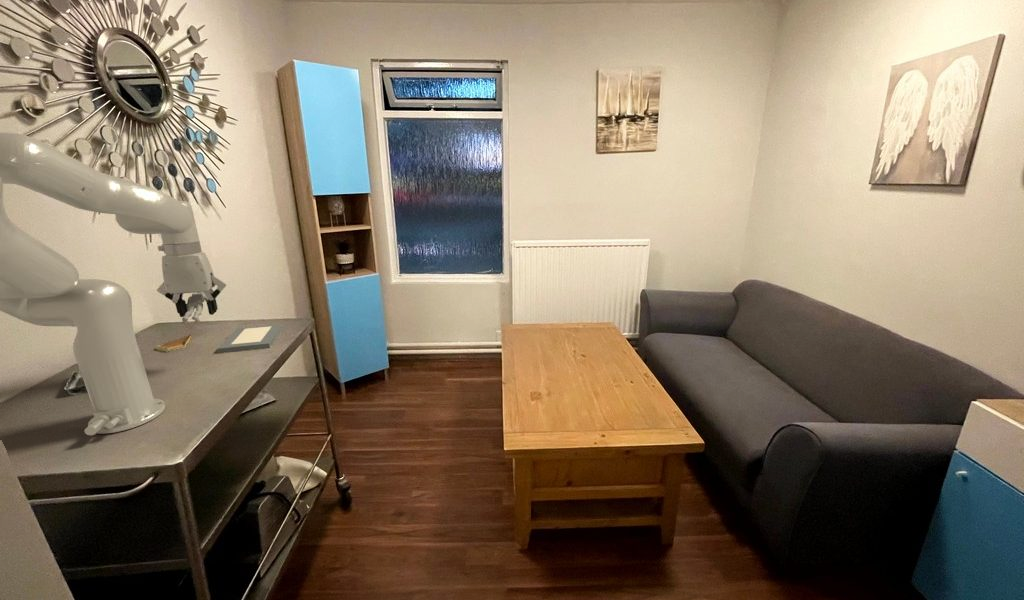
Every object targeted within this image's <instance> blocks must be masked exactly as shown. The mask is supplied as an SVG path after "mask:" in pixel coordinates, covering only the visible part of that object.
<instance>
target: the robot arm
mask: <svg viewBox="0 0 1024 600" xmlns="http://www.w3.org/2000/svg"><path fill="white" fill-rule="evenodd" d="M7 184H9V185H11V184H12V185H17V186H21V187H24V188H25V189H29V190H30V191H34V192H36V193H38V194H40V195H43V196H47V197H49V198H51V199H54V200H56V201H59V202H61V203H63V204H65V205H67V206H70V207H73V208H76V209H78V210H84V211H89V212H95V213H100V214H109V215H115V220H116V223H117V224H118V226H120V228H122V230H124V231H125V232H126V231H127V232H128V233H131V234H138V235H156V234H157V235H158V234H159V235H160V238H161V242H162V244H161V245H158V246H157V250H158V251H159V252H163V253H164V255H162V256H161V269H162V271H161V272H162V276H163V277H162V278H163V282H162V283H161V285H160V286H159V287H158V288H156V291H157V292H158V293H159V294H161V295H162V296H164V297H165V298H167V299H169V300H171V302H172V303H173V304H175V309H176V313H177V314H178V315H179V317H180V318H183V317H184V315H185V313H186V312H187V308H186V304H187V303H186V300H185V299H183V296H184V294H193V293H197V292H203V293H204V295H205V296H206V297H207V298H208V301H207V302H206V305H207V310H208V314H209V315H211V316H213V315H215V313H217V311H218V304H217V300H216V298H217V297H218V296H219V295H220V294H221V293H222V291H223V290H224V289H225V288H226V287H227V284H226V283H225V282H224V281H222V280H220V279H219V278H217V277H216V276H215V274H214V271H213V268H212V266H211V263H210V260H209V258H208V257H207V254H206V252H203V250H202V245H201V241H200V237H199V234H198V233H199V232H198V229H197V224H196V220H195V216H194V215H195V214H194V212H193V211H194V210H193V207H192V205H191V204H190V202H188V201H185V200H177V199H176V198H175V197H172V196H171V195H169V194H167V193H165V192H163V191H160V190H159V189H156V188H153V187H151V186H148V185H144V184H141V183H137V182H134V181H131V180H128V179H125V178H122V177H119V176H118V177H117V176H115V175H111V174H108V173H104V172H101V171H100V170H97V169H95V168H93V167H91V166H90V165H88V164H85V163H84V162H81V161H80V160H77V159H76V158H74V157H72V156H70V155H68V154H66V153H64V152H62V151H60V150H58V149H57V148H55V147H52V146H50V145H48V144H46V143H44V142H43V141H41V140H39V139H37V138H34V137H32V136H29V135H25V134H22V133H15V132H0V312H1V313H5V314H7V315H9V316H11V317H13V318H16V319H18V320H20V321H23V322H25V323H28V324H32V325H36V326H41V327H75V328H76V330H77V332H76V334H75V338H74V341H73V345H72V349H73V355H74V357H75V358H74V359H75V361H76V362H77V365H78V369H79V371H80V372H81V375H82V380H83V383H84V386H86V389H87V395H88V396H89V397H88V398H89V400H90V402H91V403H90V404H91V406H92V408H93V413H92V415H93V417H92V418H91V419H90V420H89V421H88V423H87V427H86V428H84V434H86V435H87V436H95V435H96V434H103V435H104V434H105V435H106V434H112V433H118V432H123V431H126V430H131V429H133V428H135V427H139V426H141V425H144V424H146V423H148V422H151V421H152V420H154V419H155V418H157V417H159V415H161V414H162V413H163V412H164V411H165V408H166V405H165V401H164V400H163V399H160V398H155V397H154V396H153V392H152V388H151V385H150V381H149V377H148V375H147V371H146V367H145V365H144V362H143V357H142V354H141V351H140V347H139V346H138V342H137V338H136V334H135V330H134V326H133V325H134V324H133V313H132V312H133V305H132V304H133V303H132V297H131V295H130V293H129V291H128V290H127V289H126V288H125V287H124V286H122V285H121V284H119V283H116V282H115V281H111V280H106V279H95V278H93V279H91V278H90V279H88V278H85V279H84V278H83V279H82V278H81V279H80V275H79V274H80V273H79V271H78V269H77V267H76V265H74V263H73V262H71V261H70V260H69V259H67V257H65V255H62V254H61V253H59V252H57V251H56V250H54V249H53V248H51V247H49V246H48V245H46V243H45V244H44V242H42V241H40V240H38V239H37V238H35V237H34V236H32V235H31V234H29V233H27V232H26V231H25V230H24V229H21V228H20V227H19V226H18V225H16V223H14V222H13V221H12V220H11V219H10V218H9V216H8V214H7V212H6V209H5V203H4V186H3V185H7ZM216 286H217V287H216ZM215 287H216V288H215ZM213 288H215V290H213Z"/></svg>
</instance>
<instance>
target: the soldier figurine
mask: <svg viewBox="0 0 1024 600" xmlns="http://www.w3.org/2000/svg"><path fill="white" fill-rule="evenodd" d="M207 301H208V298H207V297H206V296H205V294H204V293H203V292H196V293H191V295H190V296H189V297H188V298H187V303H186V308H187V312H186V313H185V315H184V317H181V318H182V319H181V320H182V321H181V324H183V325H188V324H189V318H190V317H191V320H193V321H194V323H196V324H200V323H201V320H200V317H199V316H200V315H202V311H203V309H204V302H206V303H207ZM195 310H196V311H195ZM194 311H195V312H194ZM193 313H194V314H193ZM192 314H193V315H192Z"/></svg>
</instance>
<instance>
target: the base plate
mask: <svg viewBox="0 0 1024 600" xmlns="http://www.w3.org/2000/svg"><path fill="white" fill-rule="evenodd" d="M282 328H283V329H284V325H283V324H282V323H281V324H279V323H278V324H270V325H269V324H268V325H259V326H258V325H257V326H247V327H237V328H236V329H235V330H234V331H232V333H231V334H230V335H229V336H228V337H227V338H226V339H225V340H224V341H223V342H222V343H221V344H220V345H219V346H218V347H217V348H216V349H217V353H218V354H223V353H224V352H225V353H233V352H234V353H235V352H243V350H244V351H252V350H251V349H254V350H260V349H259V348H263V349H270V348H271V347H272V346H273V344H274V342H275V341H276V339H277V338H278V336H279V335H278V333H279V332H280V331H281V329H282ZM283 329H282V330H283ZM281 332H282V331H281ZM281 332H280V333H281ZM280 333H279V334H280ZM277 335H278V336H277ZM276 337H277V338H276ZM275 338H276V339H275ZM274 340H275V341H274ZM273 341H274V342H273ZM272 343H273V344H272ZM270 346H271V347H270Z"/></svg>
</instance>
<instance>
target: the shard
mask: <svg viewBox="0 0 1024 600" xmlns="http://www.w3.org/2000/svg"><path fill="white" fill-rule="evenodd" d="M190 338H191V339H192V334H191V333H190V334H189V335H184V336H183V337H178V338H176V339H173V340H169V341H167V342H164V343H161V344H158V345H156V346H155V347H154V348H155V350H157V351H161V352H164V351H165V352H166V353H168V351H169V352H172V351H176V349H177V350H181V349H180V348H182V349H185V348H186V346H187V344H188V343H189V342H190V341H191V340H190ZM189 340H190V341H189ZM171 350H172V351H171Z"/></svg>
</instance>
